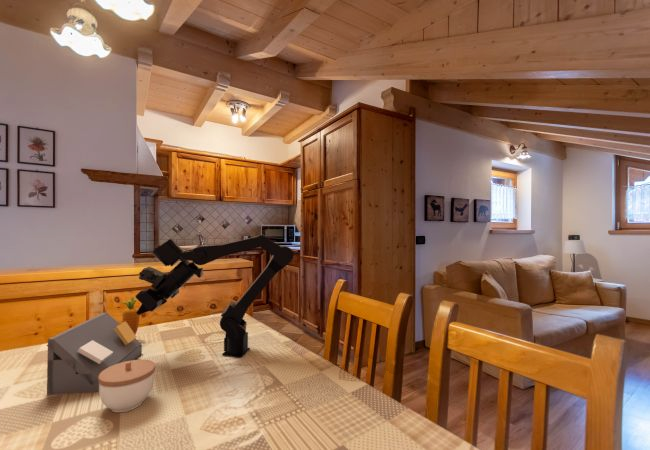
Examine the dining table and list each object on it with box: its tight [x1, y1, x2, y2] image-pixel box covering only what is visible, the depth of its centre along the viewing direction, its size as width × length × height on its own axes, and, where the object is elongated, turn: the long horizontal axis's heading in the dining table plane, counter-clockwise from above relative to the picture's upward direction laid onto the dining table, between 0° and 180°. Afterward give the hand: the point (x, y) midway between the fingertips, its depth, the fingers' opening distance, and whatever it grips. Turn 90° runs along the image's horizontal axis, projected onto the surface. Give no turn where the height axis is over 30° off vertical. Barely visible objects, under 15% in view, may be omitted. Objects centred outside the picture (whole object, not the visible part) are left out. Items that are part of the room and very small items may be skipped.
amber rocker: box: [113, 321, 137, 345], centre depth 90 cm, size 5×5×5 cm
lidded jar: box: [98, 359, 156, 413], centre depth 67 cm, size 11×11×9 cm
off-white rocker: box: [77, 340, 113, 364], centre depth 76 cm, size 5×5×5 cm
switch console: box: [46, 312, 143, 395], centre depth 82 cm, size 12×22×13 cm, turn 8°
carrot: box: [122, 296, 140, 335], centre depth 104 cm, size 5×5×15 cm
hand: (137, 313), depth 90 cm, fingers closed
